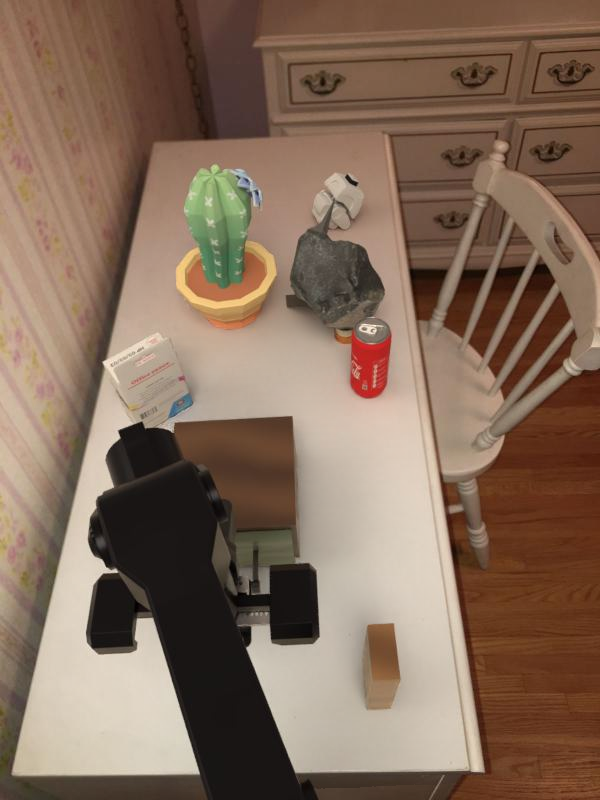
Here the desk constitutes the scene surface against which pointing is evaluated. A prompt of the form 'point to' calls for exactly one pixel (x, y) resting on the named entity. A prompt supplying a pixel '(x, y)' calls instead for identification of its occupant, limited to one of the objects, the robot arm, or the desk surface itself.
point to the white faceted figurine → (339, 200)
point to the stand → (380, 666)
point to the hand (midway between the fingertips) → (220, 636)
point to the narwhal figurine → (334, 280)
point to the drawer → (264, 550)
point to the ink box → (149, 380)
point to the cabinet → (249, 468)
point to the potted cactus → (224, 250)
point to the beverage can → (370, 356)
